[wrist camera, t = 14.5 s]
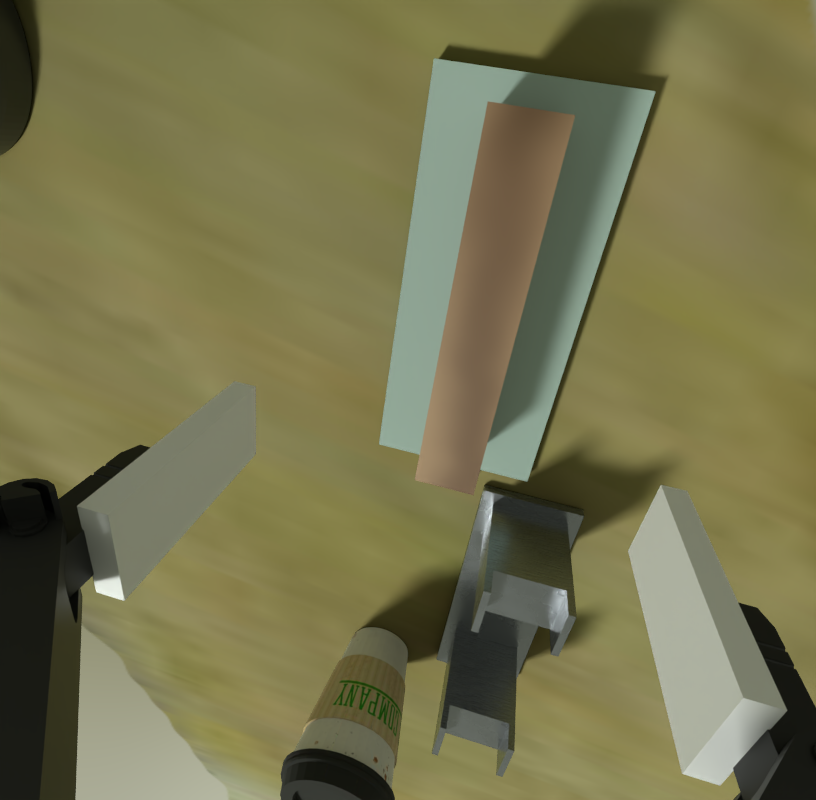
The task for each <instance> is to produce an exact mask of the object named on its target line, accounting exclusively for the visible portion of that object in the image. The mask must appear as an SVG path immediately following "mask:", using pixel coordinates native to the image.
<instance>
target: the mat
mask: <svg viewBox="0 0 816 800" xmlns="http://www.w3.org/2000/svg"><path fill="white" fill-rule="evenodd" d="M655 92H656V91H651V90H644V89H637V88H630V87H624V86H617V85H610V84H603V83H597V82H590V81H583V80H576V79H570V78H563V77H556V76H549V75H543V74H536V73H529V72H523V71H516V70H509V69H502V68H496V67H489V66H482V65H475V64H469V63H462V62H455V61H448V60H442V59H435V58H434V62H433V69H432V76H431V83H430V90H429V97H428V104H427V111H426V118H425V125H424V132H423V139H422V146H421V153H420V160H419V167H418V174H417V181H416V188H415V195H414V202H413V209H412V216H411V223H410V230H409V237H408V244H407V251H406V258H405V265H404V272H403V279H402V286H401V294H400V301H399V308H398V315H397V322H396V329H395V336H394V343H393V350H392V357H391V364H390V371H389V378H388V385H387V392H386V399H385V406H384V413H383V420H382V427H381V434H380V441H379V444H380V445H384V446H388V447H392V448H396V449H400V450H404V451H408V452H412V453H416V454H420V450H421V445H422V440H423V435H424V430H425V424H426V419H427V414H428V409H429V404H430V399H431V393H432V388H433V383H434V378H435V373H436V367H437V362H438V357H439V352H440V347H441V341H442V336H443V331H444V326H445V321H446V315H447V310H448V305H449V300H450V295H451V289H452V284H453V279H454V274H455V269H456V263H457V258H458V253H459V248H460V243H461V237H462V232H463V227H464V222H465V217H466V212H467V206H468V201H469V196H470V191H471V186H472V180H473V175H474V170H475V165H476V160H477V154H478V149H479V144H480V139H481V134H482V128H483V123H484V118H485V113H486V108H487V102H488V101H489V102H495V103H502V104H508V105H514V106H521V107H527V108H533V109H540V110H546V111H552V112H559V113H565V114H571V115H575V118H574V122H573V126H572V130H571V133H570V137H569V141H568V144H567V148H566V152H565V156H564V159H563V163H562V167H561V171H560V174H559V178H558V182H557V185H556V189H555V193H554V197H553V200H552V204H551V208H550V212H549V215H548V219H547V223H546V226H545V230H544V234H543V238H542V241H541V245H540V249H539V252H538V256H537V260H536V264H535V267H534V271H533V275H532V279H531V282H530V286H529V290H528V293H527V297H526V301H525V305H524V308H523V312H522V316H521V320H520V323H519V327H518V331H517V334H516V338H515V342H514V346H513V349H512V353H511V357H510V361H509V364H508V368H507V372H506V375H505V379H504V383H503V387H502V390H501V394H500V398H499V402H498V405H497V409H496V413H495V416H494V420H493V424H492V428H491V431H490V435H489V439H488V442H487V446H486V450H485V454H484V457H483V461H482V465H481V469H480V470H483V471H487V472H491V473H495V474H499V475H503V476H507V477H511V478H515V479H519V480H523V481H528V478H529V475H530V472H531V469H532V466H533V463H534V460H535V457H536V454H537V451H538V448H539V445H540V442H541V439H542V436H543V432H544V429H545V426H546V423H547V420H548V417H549V414H550V411H551V408H552V405H553V402H554V399H555V396H556V393H557V390H558V387H559V384H560V381H561V378H562V375H563V372H564V369H565V366H566V363H567V360H568V357H569V353H570V350H571V347H572V344H573V341H574V338H575V335H576V332H577V329H578V326H579V323H580V320H581V317H582V314H583V311H584V308H585V305H586V302H587V299H588V296H589V293H590V290H591V287H592V284H593V281H594V278H595V274H596V271H597V268H598V265H599V262H600V259H601V256H602V253H603V250H604V247H605V244H606V241H607V238H608V235H609V232H610V229H611V226H612V223H613V220H614V217H615V214H616V211H617V208H618V205H619V202H620V199H621V195H622V192H623V189H624V186H625V183H626V180H627V177H628V174H629V171H630V168H631V165H632V162H633V159H634V156H635V153H636V150H637V147H638V144H639V141H640V138H641V135H642V132H643V129H644V126H645V123H646V120H647V116H648V113H649V110H650V107H651V104H652V101H653V98H654V95H655Z"/></svg>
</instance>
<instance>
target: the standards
mask: <svg viewBox="0 0 816 800" xmlns="http://www.w3.org/2000/svg"><path fill="white" fill-rule="evenodd" d="M583 518H584V512H583V510H582V509H578V508H574V507H570V506H566V505H562V504H559V503H555V502H551V501H547V500H543V499H539V498H535V497H531V496H527V495H523V494H519V493H515V492H512V491H508V490H504V489H500V488H496V487H492V486H488V485H484V489H483V492H482V496H481V499H480V503H479V507H478V510H477V514H476V517H475V521H474V525H473V528H472V532H471V535H470V539H469V543H468V546H467V550H466V553H465V557H464V561H463V564H462V568H461V571H460V575H459V579H458V582H457V586H456V589H455V593H454V596H453V600H452V604H451V607H450V611H449V614H448V618H447V622H446V625H445V629H444V632H443V636H442V640H441V643H440V647H439V650H438V655H437V660H440V661H443V662H446V663H447V665H446V671H445V677H444V683H443V689H442V695H441V701H440V708H439V714H438V720H437V726H436V732H435V738H434V744H433V750H432V754H435V755H438V753H439V750H440V747H441V744H442V741H443V738H444V735H445V733H449V734H452V735H455V736H458V737H461V738H464V739H467V740H470V741H473V742H476V743H480V744H483V745H486V746H489V747H492V748H495V749H498V754H497V772H496V775H498V776H501V777H502V776H503V774H504V772H505V770H506V768H507V766H508V763H509V761H510V759H511V757H512V755H513V753H514V742H515V709H516V679H517V677H518V674H519V672H520V669H521V667H522V664H523V662H524V660H525V657H526V655H527V652H528V650H529V648H530V645H531V643H532V640H533V638H534V636H535V633H536V631H537V628H538V626H540V627H543V628H547V629H550V645H551V655H555V656H559V654H560V652H561V650H562V647H563V645H564V643H565V641H566V639H567V637H568V635H569V632H570V630H571V628H572V626H573V624H574V622H575V620H576V607H575V596H574V586H573V575H572V565H571V554H570V549H571V547H572V544H573V542H574V539H575V537H576V535H577V532H578V530H579V527H580V525H581V523H582V520H583Z"/></svg>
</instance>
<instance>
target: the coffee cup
mask: <svg viewBox="0 0 816 800" xmlns="http://www.w3.org/2000/svg"><path fill="white" fill-rule="evenodd" d="M407 658H408V650H407V647H406V645H405V643H404V642H403V641H402V640H401V639H400V638H399V637H398V636H396V635H395V634H394V633H392V632H390V631H387V630H385V629H381V628H376V627H367V628H363V629H360V630H358V631H357V632H356V633H355V634H354V636H353V637H352V639H351V641H350V643H349V645H348V647H347V649H346V651H345V653H344V655H343V657H342V659H341V660H340V661H339V662H338V664H337V665H336V667H335V669H334V671H333V673H332V675H331V677H330V679H329V681H328V682H327V684H326V686H325V688H324V690H323V692H322V694H321V696H320V698H319V700H318V702H317V704H316V705H315V707H314V709H313V711H312V713H311V715H310V717H309V719H308V721H307V723H306V725H305V727H304V729H303V735H302V737H301V739H300V741H299V743H298V745H297V746H296V748H295V750H294V752H292V753H290V754H289V755H288V756H287V757H286V758H285V760H284V762H283V767H282V771H281V779H282V788H281V794H280V796H281V800H395V797H394V794H393V791H392V789H391V788H392V779H393V771H394V768H395V765H396V762H397V753H398V745H399V736H400V728H401V719H402V711H403V702H404V694H405V675H406V666H407Z"/></svg>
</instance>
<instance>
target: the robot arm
mask: <svg viewBox="0 0 816 800" xmlns="http://www.w3.org/2000/svg"><path fill="white" fill-rule="evenodd" d="M31 98H32V73H31V64H30V57H29V52H28V47H27V43H26V39H25V35H24V31H23V28H22V25H21V22H20V19H19V17H18V14H17V11H16V9H15V6H14V4H13V2H12V0H0V155H2V154H4V153H5V152H6V151H8V150H9V149H10V148H11V147H12V146H13V145H14V144H15V143H16V142H17V140H18V139H19V137H20V136H21V134H22V132H23V130H24V128H25V125H26V122H27V119H28V116H29V111H30V106H31ZM255 454H256V386H252V385H248V384H244V383H239V382H235V381H234V382H233V383H232V384H230V385H229V386H228V387H227V388H225V389H224V390H223V391H222V392H220V393H219V394H218V395H217V396H215V397H214V398H213V399H212V400H210V401H209V402H208V403H206V404H205V405H204V406H203V407H201V408H200V409H199V410H198V411H196V412H195V413H194V414H193V415H191V416H190V417H189V418H188V419H186V420H185V421H184V422H182V423H181V424H180V425H179V426H177V427H176V428H175V429H174V430H172V431H171V432H170V433H169V434H167V435H166V436H165V437H164V438H162V439H161V440H160V441H158V442H157V443H156V444H155V445H153V446H152V447H151V448H150V447H146V446H143V445H139V446H136V447H134V448H131V449H129V450H126V451H124V452H121V453H120V454H118V455H117V456H116V457H114V458H113V459H112V460H110V461H109V462H108V463H106V466H102V467H101V468H100V469H98V470H97V471H96V472H94V475H90V476H89V477H88V478H86V479H85V480H84V481H82V482H81V483H80V484H78V485H77V486H76V487H74V488H73V489H72V490H70V491H69V492H67V493H66V494H65V495H63V496H62V497H61V498H59V499H58V496H57V492H56V489H55V486H54V484H52V483H51V482H49V481H48V480H43V479H38V478H33V479H21V480H17V481H13V482H9V483H7V484H4V485H2V486H0V800H75V793H76V763H77V736H78V707H79V678H80V648H81V620H82V593H81V589H80V587H81V586H82V585H83V584H84V583H85V582H86V581H87V580H89V579H90V578H91V577H92V576H93V579H94V584H95V588H96V592H98V593H101V594H104V595H107V596H110V597H114V598H117V599H120V600H123V601H125V600H126V598H127V597H128V596H129V595H130V594H131V593H132V592H133V591H134V590H135V588H136V587H137V586H138V585H139V584H140V583H141V582H142V581H143V579H144V578H145V577H146V576H147V575H148V574H149V573H150V572H151V571H152V569H153V568H154V567H155V566H156V565H157V564H158V563H159V562H160V560H161V559H162V558H163V557H164V556H165V555H166V554H167V553H168V552H169V550H170V549H171V548H172V547H173V546H174V545H175V544H176V543H177V541H178V540H179V539H180V538H181V537H182V536H183V535H184V534H185V533H186V531H187V530H188V529H189V528H190V527H191V526H192V525H193V524H194V522H195V521H196V520H197V519H198V518H199V517H200V516H201V515H202V514H203V512H204V511H205V510H206V509H207V508H208V507H209V506H210V505H211V503H212V502H213V501H214V500H215V499H216V498H217V497H218V496H219V495H220V493H221V492H222V491H223V490H224V489H225V488H226V487H227V486H228V484H229V483H230V482H231V481H232V480H233V479H234V478H235V477H236V476H237V474H238V473H239V472H240V471H241V470H242V469H243V468H244V467H245V466H246V464H247V463H248V462H249V461H250V460H251V459H252V458H253V457H254V455H255ZM628 552H629V556H630V560H631V564H632V569H633V573H634V577H635V581H636V585H637V589H638V593H639V597H640V602H641V606H642V610H643V614H644V618H645V622H646V626H647V631H648V635H649V639H650V643H651V647H652V651H653V655H654V659H655V664H656V668H657V672H658V676H659V680H660V684H661V688H662V692H663V697H664V701H665V705H666V709H667V713H668V717H669V721H670V725H671V730H672V734H673V738H674V742H675V746H676V750H677V754H678V758H679V763H680V767H681V771H682V774H685V775H688V776H691V777H694V778H698V779H701V780H704V781H707V782H710V783H714V784H717V785H721V784H722V783H723V782H724V781H725V779H726V778H727V777H728V776H729V775H730V774H731V773H732V772H733V771H734V773H735V776H736V779H737V782H738V785H739V788H740V791H741V792H740V793H739V794H738V795H737V796H736V797H735V798H734V800H816V707H815V705H814V703H813V701H812V699H811V698H810V696H809V694H808V692H807V690H806V688H805V686H804V684H803V682H802V680H801V678H800V676H799V674H798V672H797V670H796V669H794V664H793V662H792V660H791V658H790V656H789V654H788V652H785V646H784V644H783V643H782V641H781V639H780V637H779V635H778V633H777V631H776V629H775V627H774V626H773V625H772V624H771V623H770V622H769V621H768V619H767V618H766V617H765V616H764V615H763V614H762V613H761V612H760V610H759V609H758V608H756V607H752V606H749V605H745V604H741V603H738V601H737V599H736V597H735V595H734V593H733V590H732V588H731V586H730V584H729V582H728V579H727V577H726V575H725V573H724V571H723V568H722V566H721V564H720V562H719V560H718V557H717V555H716V553H715V551H714V549H713V547H712V544H711V542H710V540H709V538H708V536H707V533H706V531H705V529H704V527H703V525H702V522H701V520H700V518H699V516H698V514H697V511H696V509H695V507H694V505H693V503H692V500H691V498H690V496H689V494H688V492H687V491H685V490H681V489H676V488H672V487H668V486H664V485H661V486H660V488H659V490H658V492H657V494H656V496H655V498H654V500H653V502H652V504H651V506H650V508H649V510H648V512H647V514H646V516H645V518H644V520H643V522H642V524H641V526H640V528H639V530H638V532H637V534H636V536H635V538H634V540H633V542H632V544H631V546H630V548H629V550H628Z"/></svg>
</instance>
